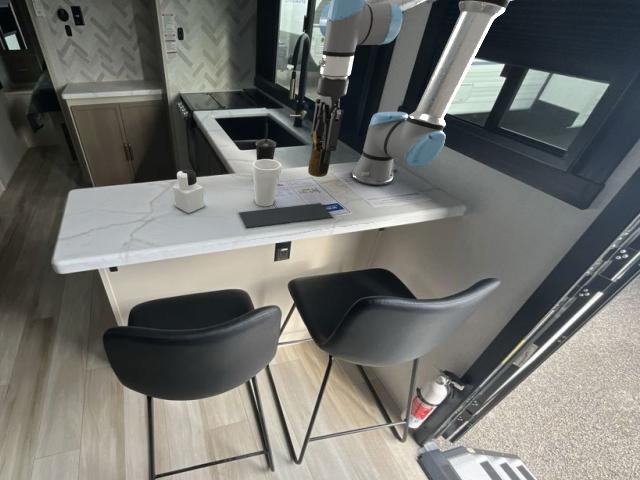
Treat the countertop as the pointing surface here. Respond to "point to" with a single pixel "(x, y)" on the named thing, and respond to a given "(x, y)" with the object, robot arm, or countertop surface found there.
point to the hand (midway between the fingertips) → (318, 168)
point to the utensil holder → (315, 159)
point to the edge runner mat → (284, 215)
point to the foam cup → (265, 180)
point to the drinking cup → (265, 148)
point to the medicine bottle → (188, 192)
